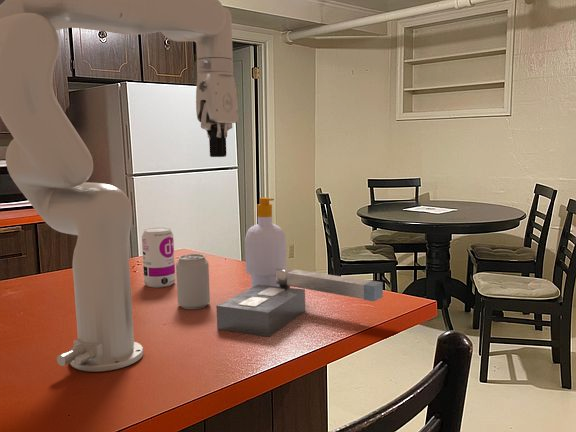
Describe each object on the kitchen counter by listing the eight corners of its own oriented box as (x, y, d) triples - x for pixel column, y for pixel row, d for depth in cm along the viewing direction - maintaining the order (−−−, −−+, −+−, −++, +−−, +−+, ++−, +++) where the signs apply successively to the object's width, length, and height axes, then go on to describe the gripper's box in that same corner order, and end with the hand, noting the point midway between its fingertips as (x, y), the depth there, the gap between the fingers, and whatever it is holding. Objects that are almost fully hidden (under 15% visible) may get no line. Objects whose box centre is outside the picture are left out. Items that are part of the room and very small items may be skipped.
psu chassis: (269, 336, 111) (268, 311, 110) (217, 329, 116) (216, 304, 115) (312, 306, 131) (311, 283, 130) (266, 300, 136) (265, 279, 135)
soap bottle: (263, 301, 135) (261, 201, 132) (238, 292, 143) (235, 198, 140) (295, 293, 142) (293, 197, 139) (269, 285, 150) (267, 195, 146)
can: (203, 311, 128) (201, 259, 127) (172, 309, 130) (170, 258, 128) (214, 301, 136) (212, 252, 134) (185, 300, 137) (182, 252, 136)
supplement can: (181, 282, 154) (179, 228, 152) (159, 289, 147) (157, 233, 145) (160, 279, 158) (157, 226, 156) (138, 285, 152) (135, 230, 150)
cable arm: (382, 296, 118) (383, 282, 118) (373, 301, 115) (374, 286, 114) (282, 280, 134) (282, 266, 133) (272, 283, 130) (272, 270, 130)
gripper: (210, 64, 110) (214, 158, 113) (248, 71, 124) (250, 155, 126) (179, 66, 113) (183, 158, 116) (218, 73, 127) (221, 155, 129)
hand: (218, 156), depth 121 cm, fingers closed
